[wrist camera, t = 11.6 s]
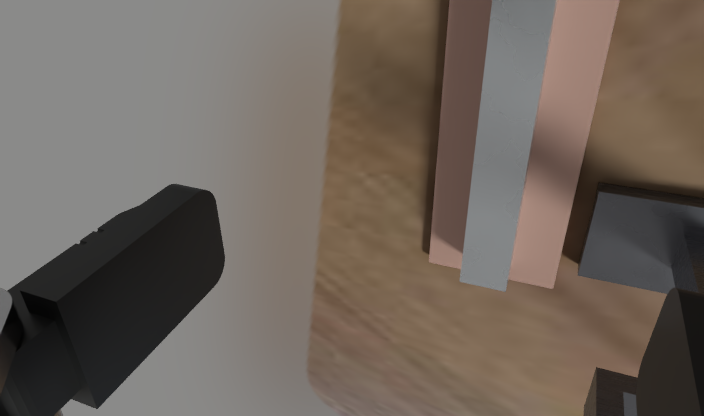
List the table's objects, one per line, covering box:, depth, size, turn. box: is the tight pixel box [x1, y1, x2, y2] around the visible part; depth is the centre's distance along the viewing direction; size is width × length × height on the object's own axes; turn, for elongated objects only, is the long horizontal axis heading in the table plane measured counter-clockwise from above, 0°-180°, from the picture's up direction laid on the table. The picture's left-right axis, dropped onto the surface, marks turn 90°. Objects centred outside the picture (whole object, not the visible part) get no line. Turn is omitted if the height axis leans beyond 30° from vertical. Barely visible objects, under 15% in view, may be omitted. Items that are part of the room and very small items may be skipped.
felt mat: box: [429, 0, 620, 289], centre depth 24 cm, size 26×7×1 cm, turn 1°
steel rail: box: [460, 0, 558, 292], centre depth 23 cm, size 24×2×2 cm, turn 1°
